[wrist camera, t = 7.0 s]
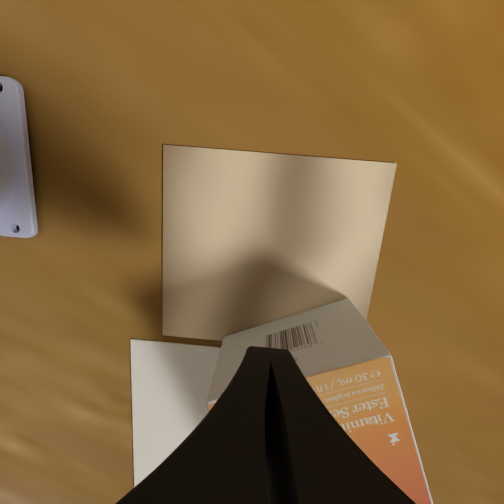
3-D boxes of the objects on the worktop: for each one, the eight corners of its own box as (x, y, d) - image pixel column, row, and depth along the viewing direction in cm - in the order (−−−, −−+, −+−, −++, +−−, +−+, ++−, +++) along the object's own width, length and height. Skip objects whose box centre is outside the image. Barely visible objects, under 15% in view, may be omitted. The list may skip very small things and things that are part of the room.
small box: (392, 349, 11) (450, 545, 13) (349, 294, 16) (395, 437, 18) (199, 406, 12) (283, 579, 14) (220, 335, 17) (278, 467, 19)
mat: (136, 504, 21) (134, 509, 21) (132, 336, 18) (130, 339, 17) (351, 528, 21) (353, 533, 20) (389, 361, 17) (391, 364, 17)
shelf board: (164, 332, 17) (162, 335, 17) (165, 145, 15) (163, 144, 15) (358, 351, 17) (359, 354, 17) (394, 163, 15) (397, 163, 14)
